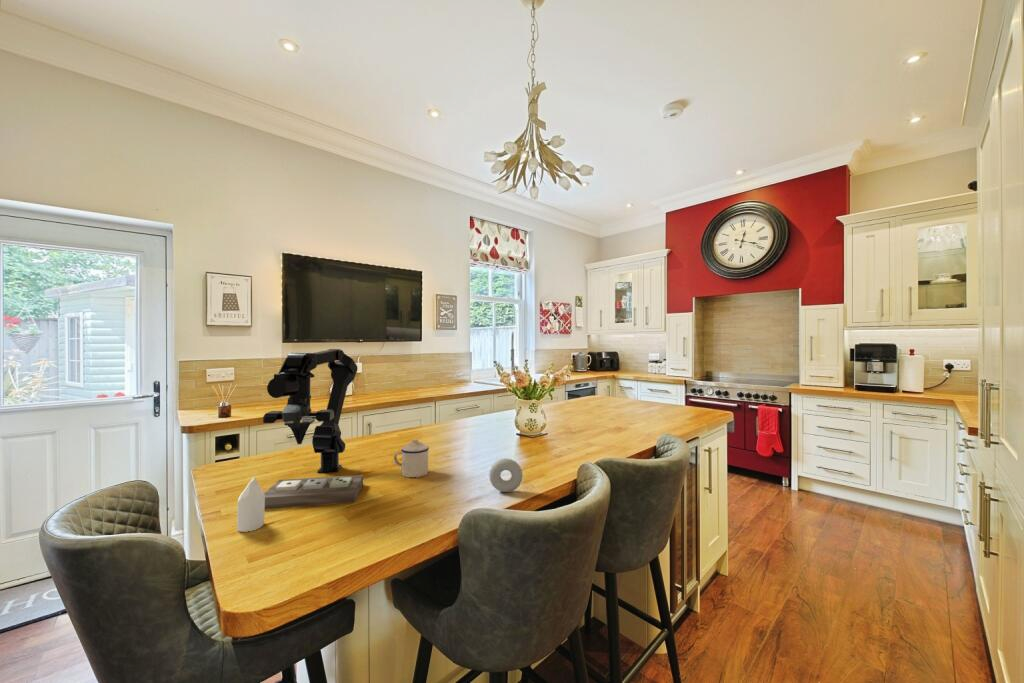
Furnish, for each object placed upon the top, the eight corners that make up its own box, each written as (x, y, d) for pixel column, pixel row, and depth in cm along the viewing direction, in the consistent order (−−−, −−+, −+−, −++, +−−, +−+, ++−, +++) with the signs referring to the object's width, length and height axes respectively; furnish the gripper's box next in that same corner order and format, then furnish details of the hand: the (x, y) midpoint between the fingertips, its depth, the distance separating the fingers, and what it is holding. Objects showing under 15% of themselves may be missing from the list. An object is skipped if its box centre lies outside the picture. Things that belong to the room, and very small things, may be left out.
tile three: (334, 488, 118) (334, 477, 118) (351, 487, 119) (351, 476, 119) (329, 494, 113) (329, 483, 113) (348, 493, 114) (348, 482, 114)
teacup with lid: (432, 469, 138) (432, 436, 138) (423, 479, 129) (423, 443, 129) (399, 468, 139) (399, 435, 139) (388, 477, 130) (388, 442, 130)
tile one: (282, 491, 115) (282, 480, 115) (301, 490, 116) (301, 479, 116) (275, 498, 110) (275, 486, 110) (295, 496, 111) (295, 485, 111)
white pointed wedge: (234, 476, 96) (261, 471, 100) (234, 526, 96) (261, 519, 100) (240, 483, 91) (267, 477, 95) (239, 534, 91) (267, 527, 95)
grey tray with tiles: (279, 489, 119) (279, 479, 119) (363, 484, 123) (363, 474, 123) (258, 509, 105) (258, 497, 105) (354, 502, 110) (354, 491, 110)
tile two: (308, 489, 116) (308, 479, 116) (326, 488, 117) (326, 478, 117) (303, 496, 111) (303, 485, 111) (322, 495, 112) (322, 484, 112)
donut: (488, 494, 116) (488, 460, 116) (489, 489, 120) (489, 456, 120) (522, 494, 116) (522, 460, 116) (522, 490, 120) (522, 457, 120)
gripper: (254, 397, 112) (254, 452, 112) (325, 396, 116) (324, 449, 116) (270, 392, 123) (270, 442, 123) (334, 391, 127) (334, 440, 127)
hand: (299, 444), depth 122 cm, fingers closed
